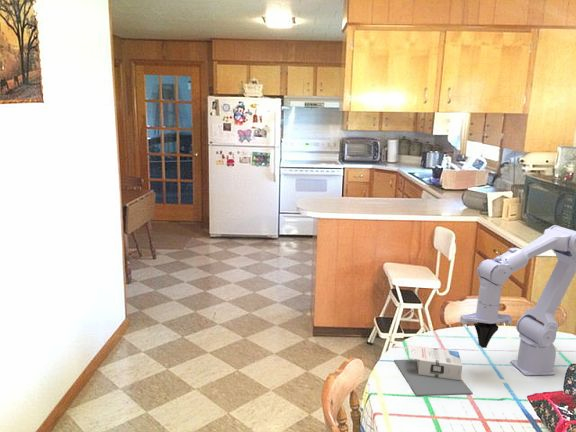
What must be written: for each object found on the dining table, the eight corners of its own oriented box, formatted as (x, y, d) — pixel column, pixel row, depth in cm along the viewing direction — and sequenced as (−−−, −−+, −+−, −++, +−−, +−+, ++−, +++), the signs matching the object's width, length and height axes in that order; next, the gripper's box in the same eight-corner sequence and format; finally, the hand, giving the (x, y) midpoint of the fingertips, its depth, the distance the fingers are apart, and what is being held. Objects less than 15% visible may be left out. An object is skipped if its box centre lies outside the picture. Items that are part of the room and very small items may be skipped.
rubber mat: (443, 360, 144) (444, 358, 144) (472, 394, 126) (472, 392, 126) (394, 361, 142) (394, 359, 142) (416, 396, 125) (416, 394, 124)
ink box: (456, 365, 140) (406, 358, 143) (458, 351, 139) (407, 344, 142) (460, 381, 132) (407, 373, 135) (462, 365, 131) (409, 358, 134)
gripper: (504, 296, 136) (498, 339, 139) (457, 296, 134) (452, 339, 137) (519, 306, 129) (512, 350, 132) (469, 306, 127) (463, 351, 130)
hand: (482, 346), depth 134 cm, fingers closed
